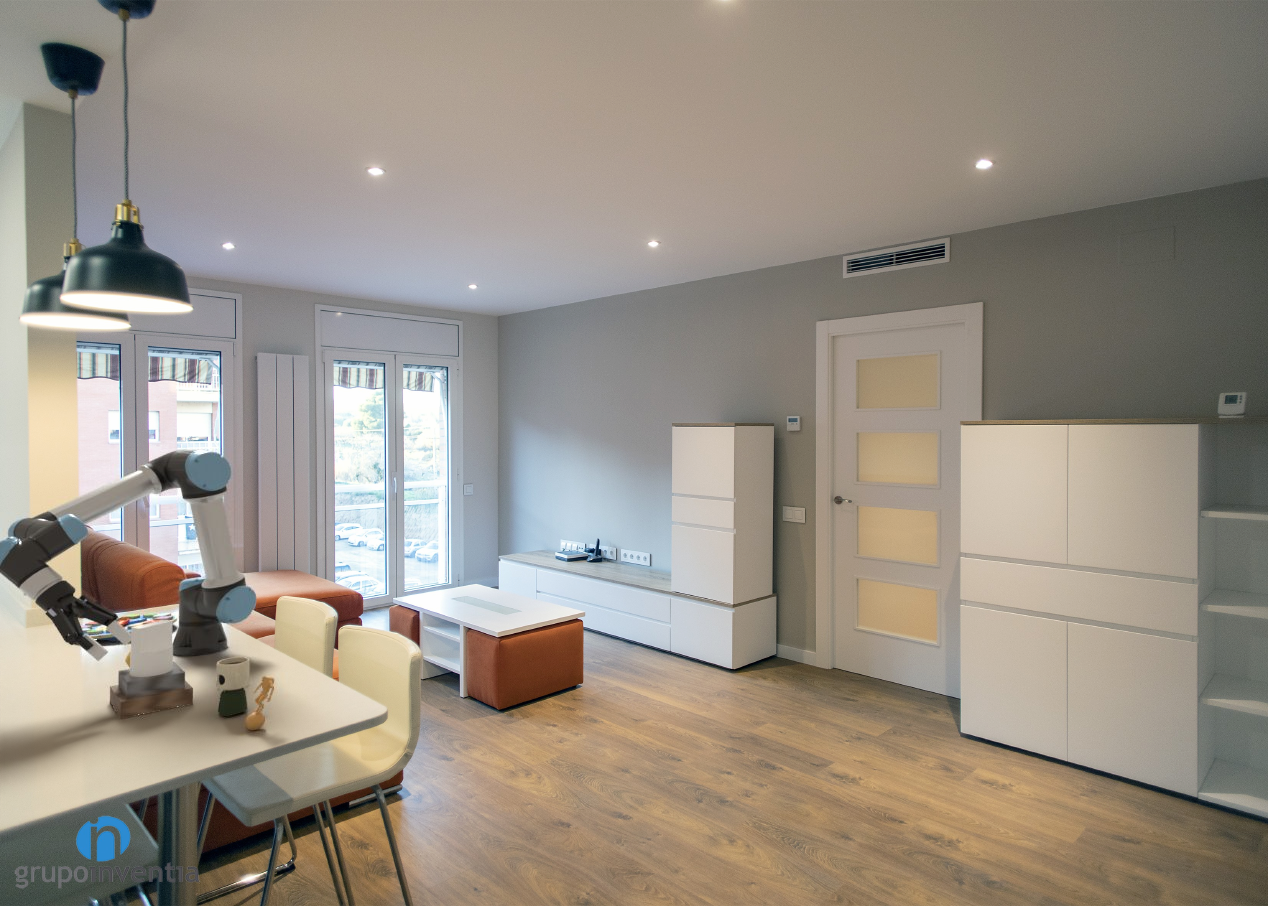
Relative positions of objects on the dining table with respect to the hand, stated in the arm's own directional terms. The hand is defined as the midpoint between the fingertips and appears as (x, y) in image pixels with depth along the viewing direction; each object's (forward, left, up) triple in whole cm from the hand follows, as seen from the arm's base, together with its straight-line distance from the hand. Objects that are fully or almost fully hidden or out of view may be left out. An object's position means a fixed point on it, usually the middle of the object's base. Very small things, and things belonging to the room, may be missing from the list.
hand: (117, 648), depth 178 cm
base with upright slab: (-7, +4, -6) cm, 10 cm away
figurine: (-22, +39, -14) cm, 47 cm away
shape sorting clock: (-14, -80, -15) cm, 83 cm away
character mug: (-20, +25, -14) cm, 35 cm away
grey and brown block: (-7, +4, -14) cm, 16 cm away
